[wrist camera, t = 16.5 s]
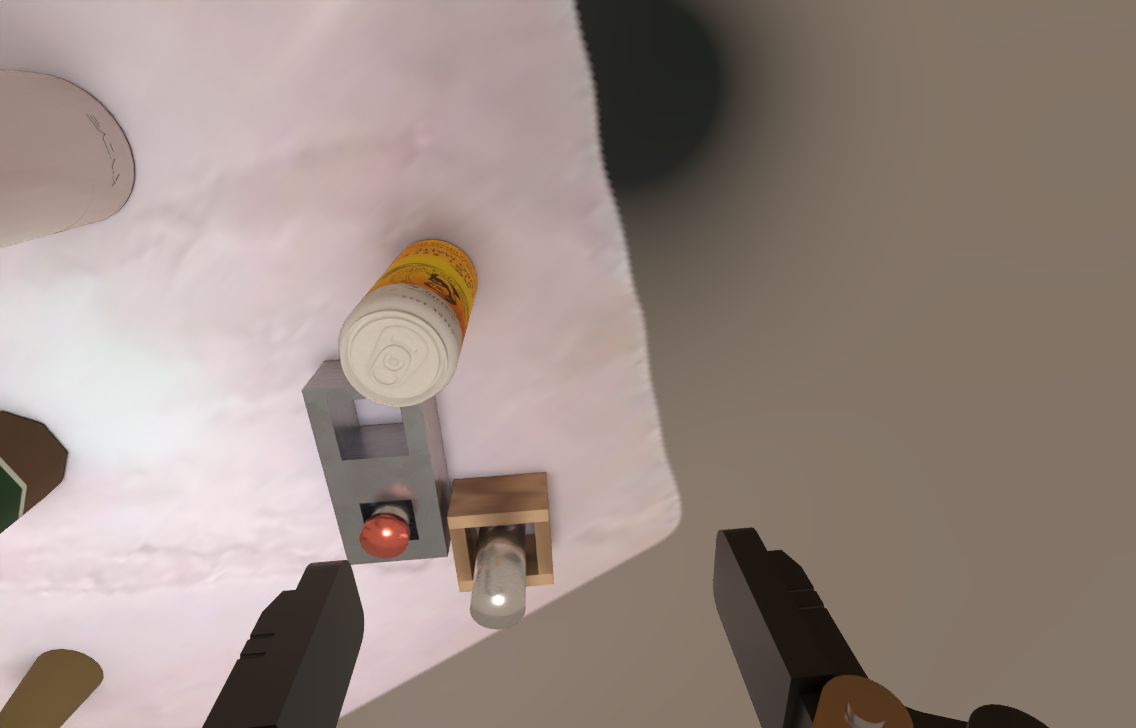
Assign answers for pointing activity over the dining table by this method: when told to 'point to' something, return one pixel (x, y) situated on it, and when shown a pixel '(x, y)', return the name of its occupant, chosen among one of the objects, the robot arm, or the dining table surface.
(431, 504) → the socket block
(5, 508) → the beer bottle
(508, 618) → the gray round-topped cylinder
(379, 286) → the beer can
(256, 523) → the dining table surface
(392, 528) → the copper-capped cylinder
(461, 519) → the wooden hollow square frame
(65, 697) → the olive knobbed peg
